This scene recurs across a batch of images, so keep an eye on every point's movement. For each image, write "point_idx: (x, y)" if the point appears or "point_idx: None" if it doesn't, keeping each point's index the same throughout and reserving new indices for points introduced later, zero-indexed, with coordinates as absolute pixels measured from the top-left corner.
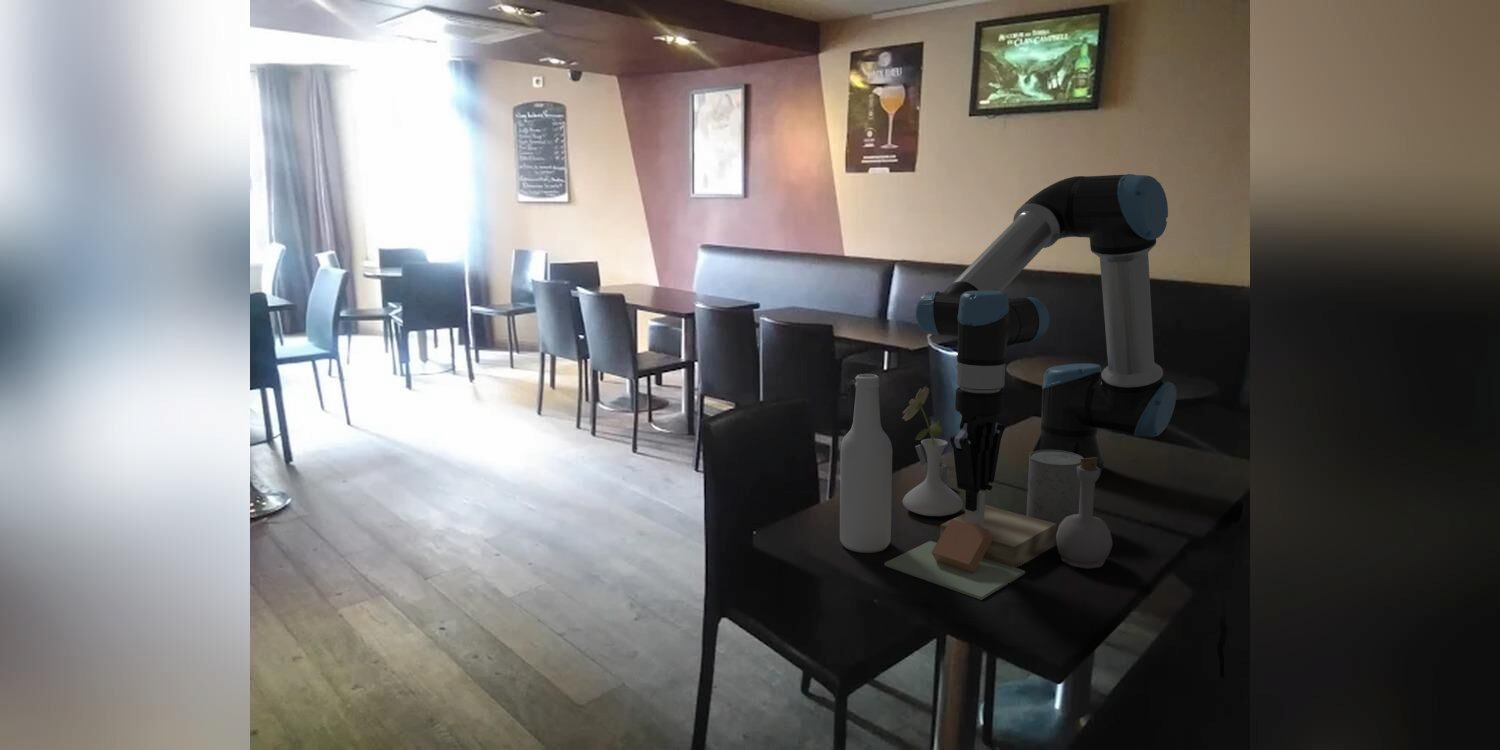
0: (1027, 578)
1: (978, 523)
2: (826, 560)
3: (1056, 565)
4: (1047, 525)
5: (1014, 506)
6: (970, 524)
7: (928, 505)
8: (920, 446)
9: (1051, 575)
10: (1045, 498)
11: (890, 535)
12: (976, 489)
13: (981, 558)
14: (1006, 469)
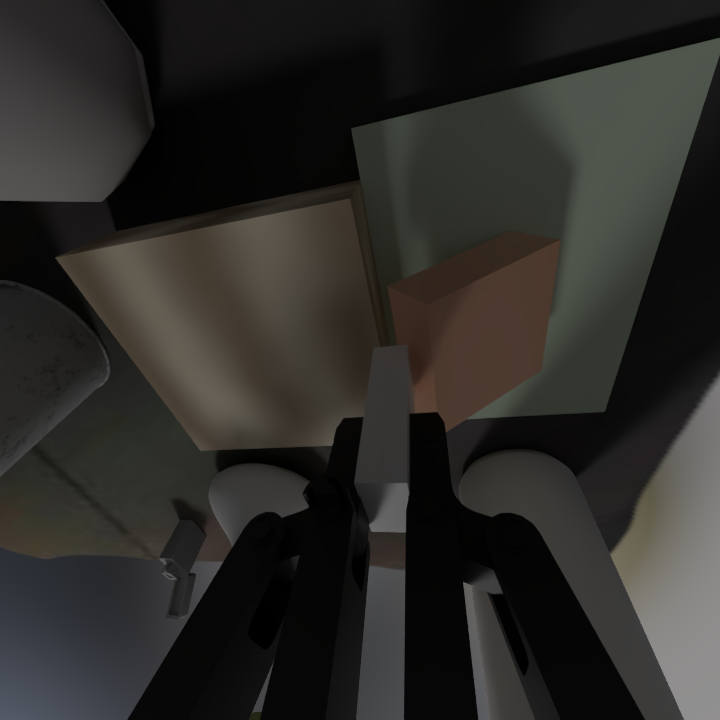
0: (376, 87)
1: (408, 364)
2: (649, 478)
3: (197, 107)
4: (95, 265)
5: (100, 424)
6: (412, 383)
7: (304, 502)
8: (179, 614)
9: (274, 41)
10: (10, 379)
11: (490, 472)
12: (453, 515)
13: (466, 252)
14: (38, 504)
